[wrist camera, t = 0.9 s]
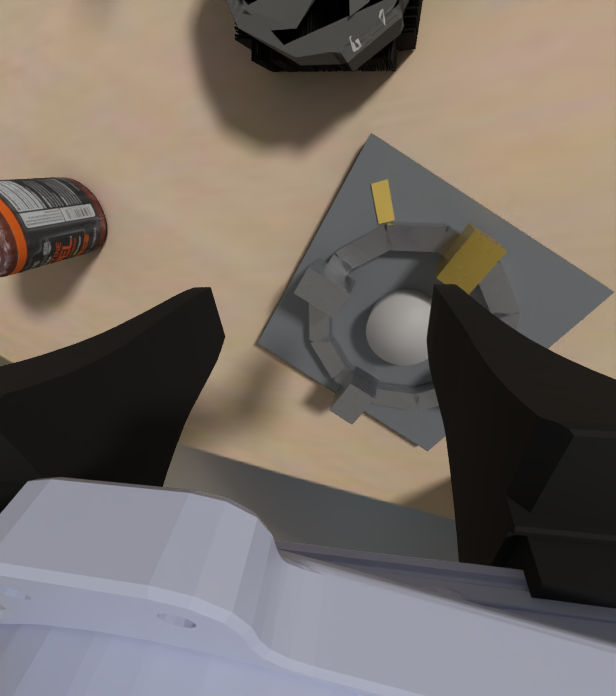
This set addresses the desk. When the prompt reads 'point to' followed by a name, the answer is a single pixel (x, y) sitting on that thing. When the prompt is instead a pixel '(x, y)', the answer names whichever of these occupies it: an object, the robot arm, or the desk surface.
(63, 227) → the supplement bottle
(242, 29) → the cpu cooler
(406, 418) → the cap plate
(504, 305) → the ring nut
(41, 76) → the desk surface
